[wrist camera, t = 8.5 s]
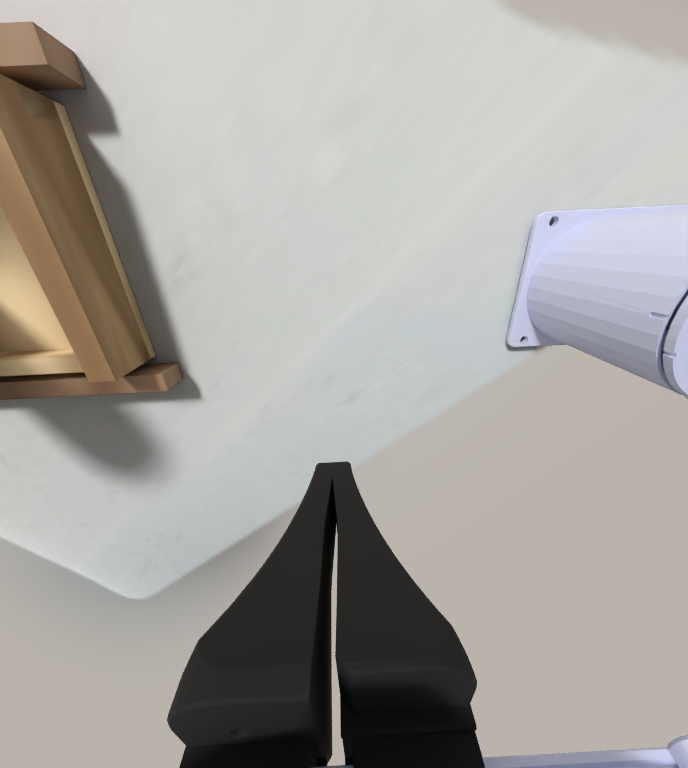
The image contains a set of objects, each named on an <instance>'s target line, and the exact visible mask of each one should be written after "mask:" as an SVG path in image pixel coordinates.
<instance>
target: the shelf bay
mask: <svg viewBox="0 0 688 768" xmlns="http://www.w3.org/2000/svg"><path fill="white" fill-rule="evenodd" d="M0 74H2V75H4V76H6V77H8V78H10V79H12V80H14V81H16V82H18V83H20V84H22V85H23V86H25V87H27V88H29V89H31V90H53V89H74V88H86V86H85V83H84V80H83V77H82V74H81V71H80V68H79V65H78V62H77V59H76V56H75V53H74V52H73V51H72V50H70V49H69V48H68V47H66V46H65V45H64V44H62V43H61V42H59V41H58V40H57V39H55V38H54V37H53V36H51V35H50V34H48V33H47V32H46V31H44V30H43V29H42V28H40V27H39V26H37V25H36V24H35V23H33V22H15V23H0ZM181 379H183V376H182V373H181V370H180V367H179V364H178V363H163V364H143V365H140V366H139V367H137V368H136V369H134V370H132V371H131V372H129V373H128V374H126V375H124V376H123V377H121V378H120V379H118V380H116V381H105V382H89V381H88V379H87V377H86V375H85V373H84V372H77V373H57V374H37V375H18V376H0V400H3V399H22V398H42V397H62V396H81V395H101V394H121V393H140V392H160V391H169V390H170V389H171V388H172V387H174V386H175V385H176V384H177V383H178V382H179V381H180V380H181Z"/></svg>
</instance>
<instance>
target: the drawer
mask: <svg viewBox="0 0 688 768" xmlns="http://www.w3.org/2000/svg"><path fill="white" fill-rule="evenodd" d="M155 356H156V354H155V352H154V349H153V346H152V344H151V341H150V338H149V335H148V333H147V330H146V327H145V325H144V322H143V319H142V316H141V314H140V311H139V308H138V305H137V303H136V300H135V297H134V295H133V292H132V289H131V286H130V284H129V281H128V278H127V276H126V273H125V270H124V267H123V265H122V262H121V259H120V256H119V254H118V251H117V248H116V246H115V243H114V240H113V237H112V235H111V232H110V229H109V227H108V224H107V221H106V218H105V216H104V213H103V210H102V208H101V205H100V202H99V199H98V197H97V194H96V191H95V188H94V186H93V183H92V180H91V178H90V175H89V172H88V169H87V167H86V164H85V161H84V159H83V156H82V153H81V150H80V148H79V145H78V142H77V139H76V137H75V134H74V131H73V129H72V126H71V123H70V120H69V118H68V115H67V112H66V110H65V107H64V106H63V105H61V104H59V103H57V102H55V101H53V100H51V99H49V98H47V97H45V96H43V95H41V94H39V93H37V92H35V91H33V90H31V89H29V88H27V87H25V86H23V85H22V84H20V83H18V82H16V81H14V80H12V79H10V78H8V77H6V76H4V75H2V74H0V376H18V375H37V374H57V373H77V372H84V373H85V375H86V377H87V379H88V381H89V382H105V381H116V380H118V379H120V378H121V377H123V376H124V375H126V374H128V373H129V372H131V371H132V370H134V369H136V368H137V367H139V366H140V365H142V364H144V363H145V362H147V361H148V360H150V359H152V358H153V357H155Z"/></svg>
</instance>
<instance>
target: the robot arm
mask: <svg viewBox="0 0 688 768" xmlns="http://www.w3.org/2000/svg"><path fill="white" fill-rule="evenodd" d="M552 217H553V218H554V222H553V224H552V225H551V226H550V225H549V221H550V219H551V218H552ZM522 337H524V340H523V341H521V342H520V339H521V338H522ZM506 342H507V344H508V345H510V346H511V347H527V346H547V345H569V346H572V347H574V348H576V349H578V350H581V351H583V352H585V353H587V354H590V355H592V356H594V357H597V358H599V359H601V360H603V361H606V362H608V363H610V364H613V365H615V366H617V367H620V368H622V369H624V370H626V371H628V372H631V373H633V374H635V375H637V376H640V377H642V378H644V379H647V380H649V381H651V382H653V383H656V384H658V385H660V386H663V387H665V388H667V389H669V390H672V391H674V392H676V393H678V394H681V395H683V396H685V397H686V398H688V205H673V206H653V207H632V208H612V209H591V210H571V211H550V212H542V213H540V214H538V215H537V216H536V217H535V218H534V220H533V223H532V228H531V232H530V237H529V241H528V246H527V250H526V254H525V259H524V263H523V268H522V272H521V277H520V281H519V286H518V290H517V295H516V299H515V304H514V308H513V313H512V317H511V321H510V326H509V330H508V335H507V341H506ZM336 523H337V533H338V564H337V568H338V569H337V570H338V571H337V620H336V655H335V656H336V663H337V672H338V680H339V688H340V695H341V697H340V702H341V738H342V739H343V746H344V753H345V765H342V766H327V764H328V762H329V760H330V758H331V756H332V694H331V693H332V689H331V688H332V687H331V586H332V571H333V559H334V546H335V534H336ZM476 686H477V680H476V677H475V674H474V671H473V669H472V666H471V664H470V661H469V659H468V656H467V654H466V652H465V650H464V648H463V646H462V644H461V642H460V640H459V638H458V636H457V634H456V632H455V631H454V629H453V627H452V626H451V624H450V623H449V622H448V621H447V620H446V619H445V618H444V616H443V615H442V614H441V613H440V612H439V611H438V610H437V609H436V607H435V606H434V605H433V604H432V603H431V602H430V600H429V599H428V598H427V597H426V596H425V594H424V593H423V592H422V591H421V589H420V588H419V587H418V586H417V585H416V583H415V582H414V581H413V579H412V578H411V577H410V576H409V574H408V573H407V571H406V570H405V569H404V567H403V566H402V565H401V564H400V562H399V561H398V559H397V558H396V557H395V555H394V554H393V552H392V551H391V549H390V548H389V546H388V545H387V543H386V541H385V540H384V538H383V537H382V535H381V533H380V532H379V530H378V528H377V527H376V525H375V523H374V521H373V519H372V517H371V516H370V514H369V512H368V510H367V508H366V506H365V504H364V502H363V499H362V497H361V495H360V493H359V490H358V488H357V486H356V483H355V480H354V477H353V473H352V470H351V464H350V463H349V462H332V463H318V464H317V465H316V468H315V472H314V475H313V477H312V480H311V482H310V485H309V487H308V490H307V492H306V494H305V496H304V498H303V500H302V502H301V504H300V507H299V508H298V510H297V512H296V514H295V516H294V518H293V519H292V521H291V523H290V525H289V527H288V529H287V530H286V532H285V533H284V535H283V537H282V538H281V540H280V541H279V543H278V544H277V546H276V547H275V549H274V550H273V552H272V553H271V554H270V556H269V557H268V559H267V560H266V562H265V563H264V564H263V566H262V567H261V568H260V570H259V571H258V572H257V574H256V575H255V576H254V578H253V579H252V580H251V581H250V583H249V584H248V585H247V586H246V588H245V589H244V590H243V591H242V592H241V594H240V595H239V596H238V597H237V598H236V600H235V601H234V602H233V603H232V604H231V606H230V607H229V608H228V609H227V610H226V611H225V612H224V613H223V614H222V616H221V617H220V618H219V619H218V620H217V621H216V622H215V623H214V624H213V625H212V626H211V627H210V628H209V630H208V631H207V632H206V633H205V634H204V635H203V636H202V637H201V638H200V639H199V641H198V643H197V645H196V646H195V649H194V651H193V653H192V655H191V657H190V659H189V661H188V664H187V666H186V668H185V670H184V672H183V675H182V677H181V680H180V682H179V685H178V688H177V691H176V694H175V698H174V700H173V703H172V706H171V708H170V711H169V714H168V718H167V721H168V724H169V726H170V728H171V730H172V731H173V732H174V733H175V734H176V735H177V736H178V737H179V739H181V741H183V743H184V744H185V745H186V748H185V751H184V754H183V758H182V761H181V764H180V768H688V735H685V736H681V737H678V738H676V739H674V740H673V741H671V742H670V743H669V744H668V747H665V748H648V749H628V750H611V751H593V752H575V753H557V754H539V755H521V756H503V757H486V758H482V754H481V751H480V747H479V744H478V741H477V737H476V733H475V730H476V729H477V728H476V723H475V719H474V716H473V713H472V709H471V705H470V702H471V700H472V697H473V695H474V692H475V690H476Z"/></svg>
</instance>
